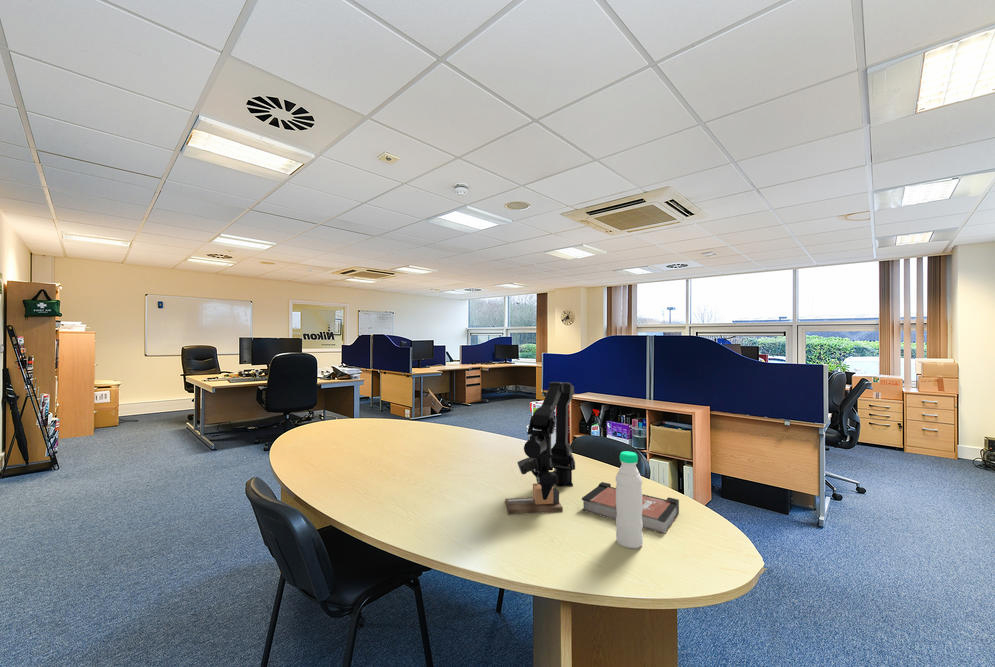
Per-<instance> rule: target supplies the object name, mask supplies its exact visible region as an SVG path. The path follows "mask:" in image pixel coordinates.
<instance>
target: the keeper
mask: <svg viewBox="0 0 995 667" xmlns="http://www.w3.org/2000/svg"><path fill="white" fill-rule="evenodd" d="M553 488H554V486H553V487H552V489H551V491H550V493H549V495H548V497H547V499H546V500H543V496H542V490H541V485H540V484H539V483H538V484H537V483H532V497H533V498H534V499H535V504H536V505H537V504H553Z"/></svg>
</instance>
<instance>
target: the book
mask: <svg viewBox="0 0 995 667" xmlns="http://www.w3.org/2000/svg"><path fill="white" fill-rule="evenodd" d="M581 501H582V502H583V507H582V509H581V511H583V512H586V511H587V513H590V514H593V513H594V515H596V514H597V516H600V515H601V517H603V516H604V518H607V519H610V520H615V521H616V516H617V512H616V487H613V486H611V483H607V482H603V481H601V482H600V483H598V485H597V486H596V487H595V488H593V489H592V490H590V491H589V492H588V493H586V494H585V495H584V496H582V497H581ZM679 514H680V500H679V499H678V498H673V497H669V496H668V497H667V498H666V499H665V498H659V497H657V496H652V495H651V496H650V495H648V494H644V493H642V523H643V527H642V529H646V530H648V531H649V530H650V531H653V532H656V533H660V534H663V535H666V534H667V532H668V530H670V527H671V526H672V524H673V523H674V522H675V521H676V519H677V517H678V516H679Z"/></svg>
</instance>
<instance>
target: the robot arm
mask: <svg viewBox="0 0 995 667" xmlns="http://www.w3.org/2000/svg"><path fill="white" fill-rule="evenodd" d="M574 394H575V386H574V385H572V383H571V382H561V381H550V382H549V383H548V389H547V392H546V395H545V396H544V398H543V401H542V403H541V406H540V407H538V408H536V409H535V411H534V412H533V414H532V415H531V417H530V419H529V425H528V429H527V435H530V436H529V440H527V441H526V442H525V443H524V445H523V452H524V453H525V455H526V456H527V457H526V458H524V459H520V460H519V461H517V466H518V468H519V472H520V473H521V475H526V474H527V473H529V472H531V473H532V475H533V476H534V477H535V478H536V484H538V483H539V484H540V485H541V490H542V496H543V500H546V499H547V497H548V495H549V493H550V491H551V489H552V487H553V488H554V486H556V487H573V486H574V484H573V478H572V476H573V471H575V470H576V461H575V459H574V456H573V454H572V453H573V452H572V451H573V450H572V448H571V446H570V443H569V442H568V441H569V439H568V438H569V432H568V431H569V405H570V403H571V402H572V400H573V398H574V397H573V396H574ZM555 410H556V413H555ZM554 413H555V414H556V415H555V414H554ZM554 430H555V443H554V445H553V446H552V435H553V434H554Z"/></svg>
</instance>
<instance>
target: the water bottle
mask: <svg viewBox="0 0 995 667" xmlns="http://www.w3.org/2000/svg"><path fill="white" fill-rule="evenodd" d="M638 457H639V456H638V454H637V453H636V452H633V451H627V450H625V451H621V452H620V454H619V462H620V463H621V465H620V467H619V469H618V471H617V473H616V475H615V483H616V485H615V486H616V487H615V488H616V512H617V516H616V520H615V524H616V529H615V540H616V542H617V543H618V545H620V546H622V547H623V548H627V549H639V548H640V547H642V545H643V542H644V539H643V537H644V536H643V528H642V527H643V523H642V494H643V488H642V487H643V486H642V485H643V478H642V476H641V474H640V471H639V470H638V467H637V464H638V461H639V458H638Z"/></svg>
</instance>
